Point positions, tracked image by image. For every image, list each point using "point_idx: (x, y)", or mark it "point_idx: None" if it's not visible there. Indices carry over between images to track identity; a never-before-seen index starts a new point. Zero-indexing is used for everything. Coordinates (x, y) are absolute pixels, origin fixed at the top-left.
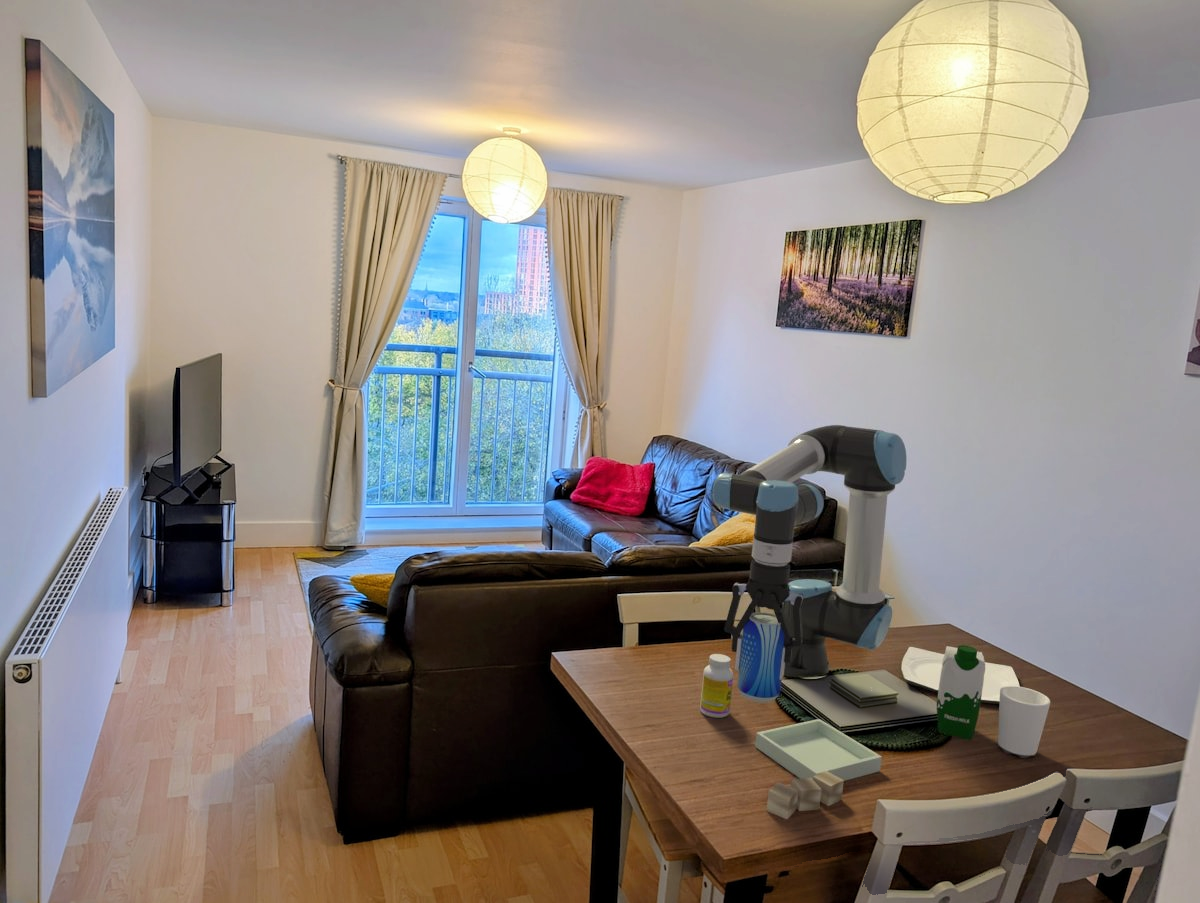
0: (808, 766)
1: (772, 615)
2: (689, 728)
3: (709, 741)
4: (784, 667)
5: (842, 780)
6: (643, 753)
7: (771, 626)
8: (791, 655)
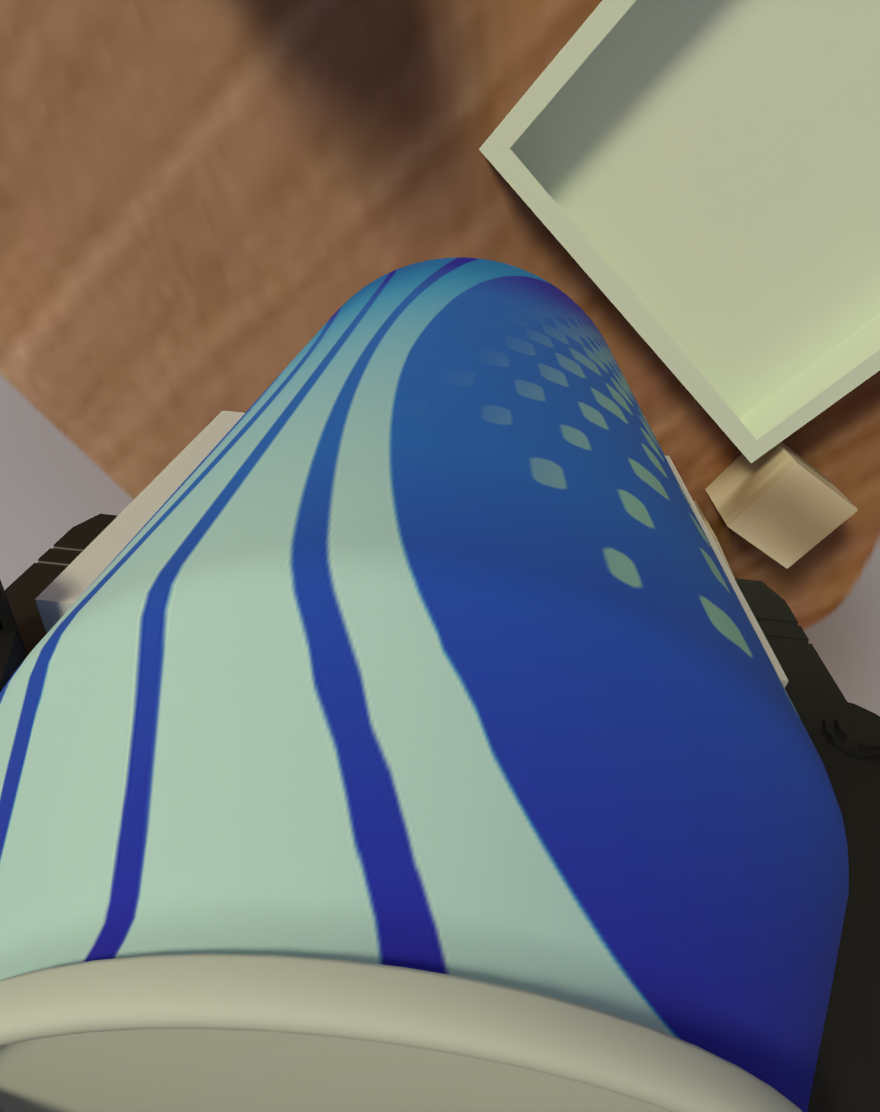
0: (725, 416)
1: (514, 1026)
2: (128, 87)
3: (265, 200)
4: (686, 491)
5: (851, 513)
6: (83, 433)
7: None
8: (798, 630)
